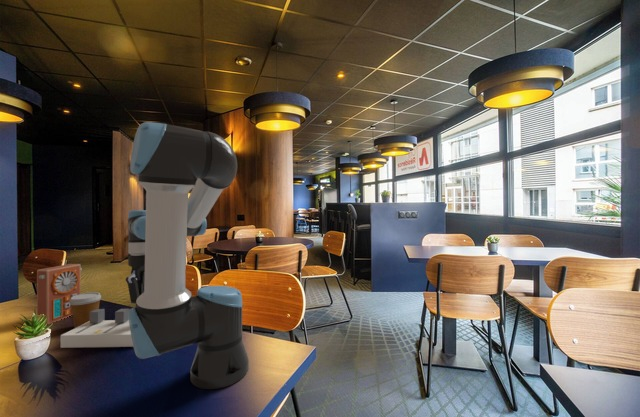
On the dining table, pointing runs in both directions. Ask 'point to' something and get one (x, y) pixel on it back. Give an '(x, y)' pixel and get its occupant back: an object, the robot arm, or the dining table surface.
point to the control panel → (57, 290)
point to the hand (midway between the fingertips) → (141, 320)
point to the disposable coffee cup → (84, 307)
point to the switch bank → (98, 335)
